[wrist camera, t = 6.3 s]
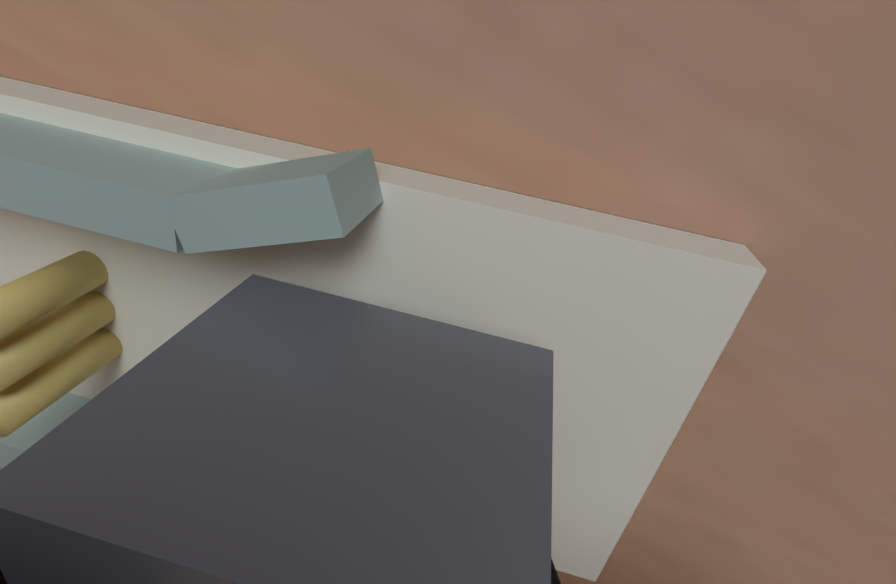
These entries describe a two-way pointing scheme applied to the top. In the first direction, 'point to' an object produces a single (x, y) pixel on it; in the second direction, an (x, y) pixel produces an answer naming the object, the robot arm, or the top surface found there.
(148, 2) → the top surface
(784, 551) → the top surface
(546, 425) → the grey block
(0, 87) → the board
